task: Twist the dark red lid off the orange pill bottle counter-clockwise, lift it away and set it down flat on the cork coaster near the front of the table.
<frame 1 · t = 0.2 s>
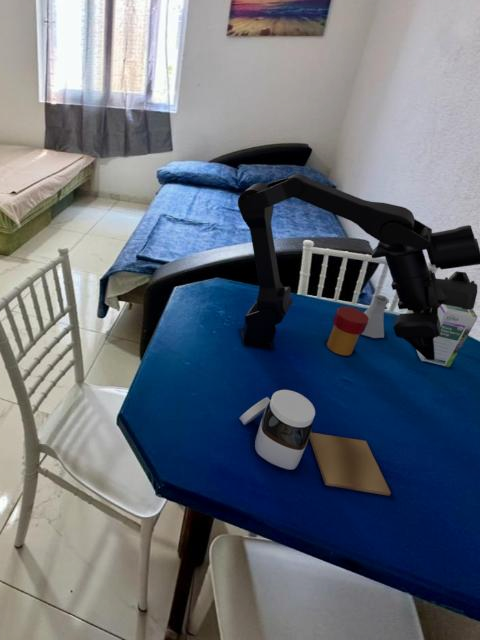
hand: (433, 346, 78), 15 cm above the table, tool tilted 30°, fingers open, 9 cm apart
syrup box: (430, 357, 97), on the table
coaster: (345, 463, 72), on the table
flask: (367, 330, 106), on the table
lid: (352, 316, 95), point 10 cm above the table, screwed on, not yet turned
orange pill bottle: (339, 347, 99), on the table
spread jar: (267, 442, 75), on the table
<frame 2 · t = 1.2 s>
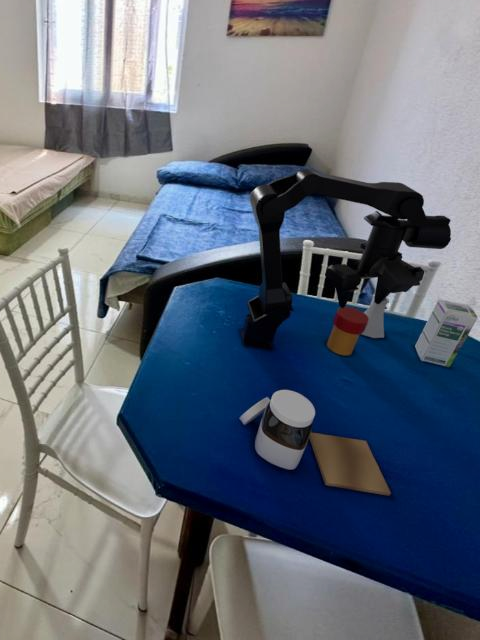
hand: (359, 305, 93), 13 cm above the table, tool pointing down, fingers open, 9 cm apart
nothing on the table moved.
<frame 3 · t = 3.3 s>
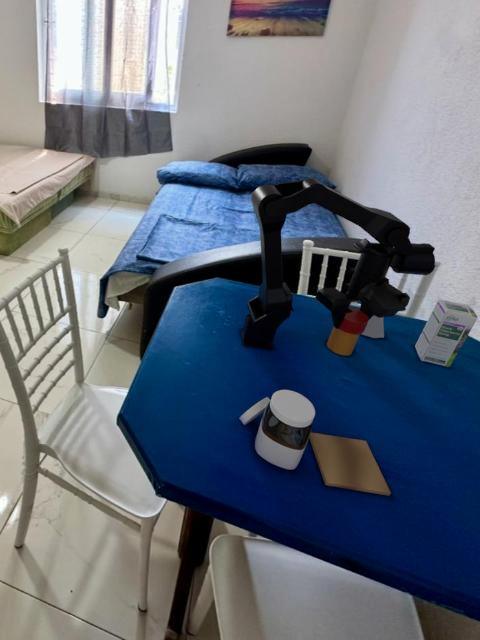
hand: (348, 326, 96), 7 cm above the table, tool pointing down, fingers closed on lid, 6 cm apart
lid: (352, 316, 95), point 10 cm above the table, screwed on, not yet turned, touching gripper
everything else where it was.
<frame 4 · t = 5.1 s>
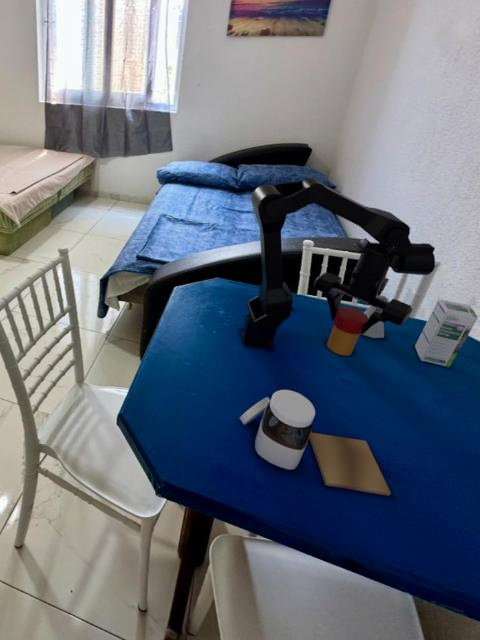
hand: (347, 326, 96), 7 cm above the table, tool pointing down, fingers closed on lid, 6 cm apart
lid: (352, 315, 95), point 10 cm above the table, off its thread, touching gripper
everything else where it was.
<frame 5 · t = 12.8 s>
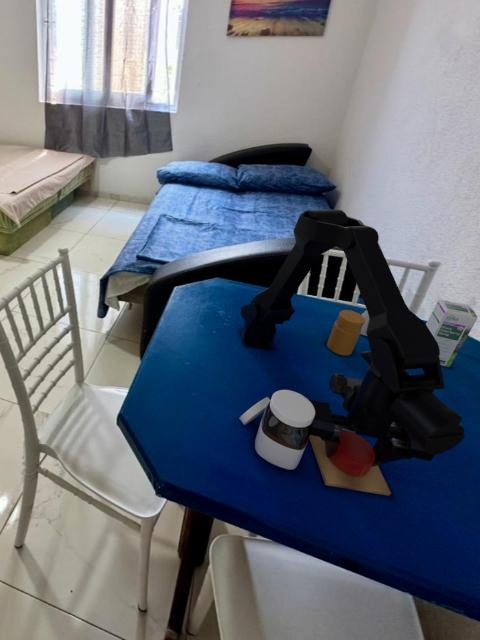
hand: (347, 459, 71), 1 cm above the table, tool pointing down, fingers closed on lid, 6 cm apart
lid: (353, 448, 70), point 4 cm above the table, off its thread, touching gripper
everything else where it was.
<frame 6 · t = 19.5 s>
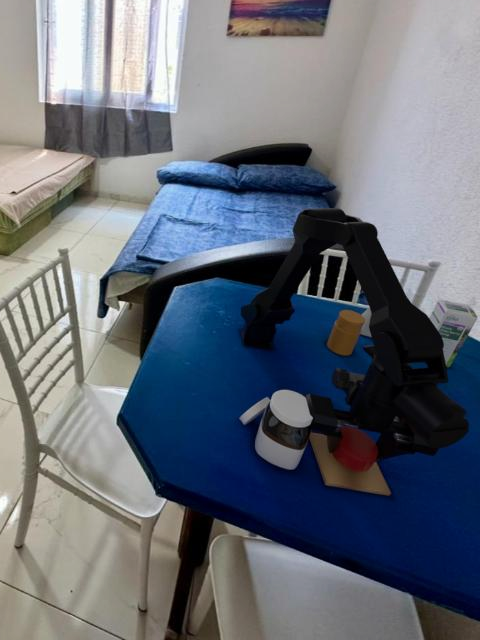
hand: (350, 455, 71), 2 cm above the table, tool pointing down, fingers closed on lid, 6 cm apart
lid: (355, 443, 69), point 5 cm above the table, off its thread, touching gripper
everything else where it was.
when the fingers open (3 cm above the table, at t = 25.9 s): lid drops 2 cm, resting on coaster.
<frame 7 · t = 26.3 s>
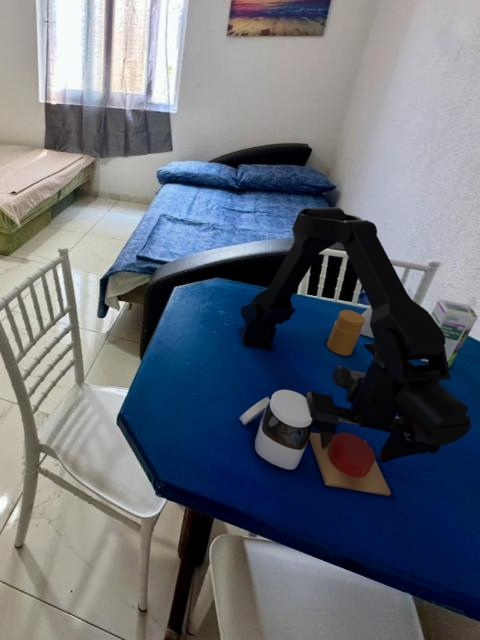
hand: (351, 453, 70), 3 cm above the table, tool pointing down, fingers open, 9 cm apart
lid: (353, 449, 70), point 4 cm above the table, off its thread, touching coaster
everything else where it was.
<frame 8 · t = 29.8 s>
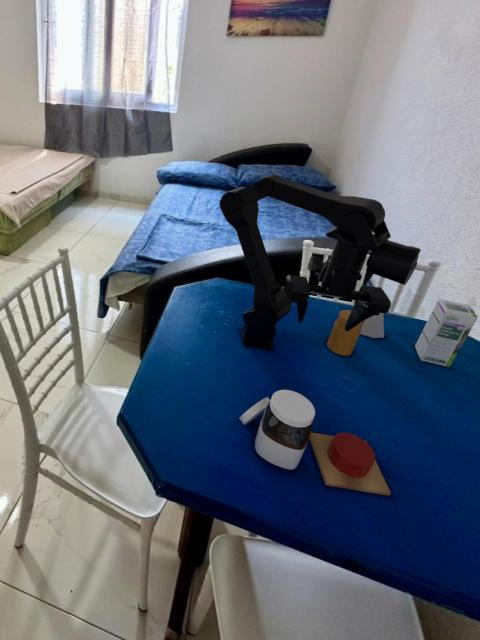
hand: (322, 326, 87), 12 cm above the table, tool pointing down, fingers open, 9 cm apart
nothing on the table moved.
at the end: lid inside the target area on the coaster (0.0 cm from its centre), point 3.7 cm above the coaster's base; lid point 3.7 cm above the table; the gripper is holding nothing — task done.
